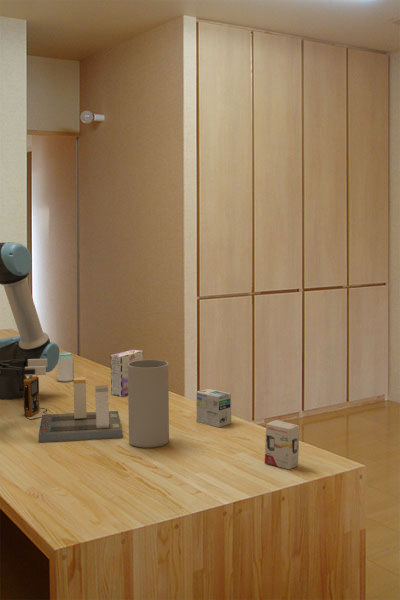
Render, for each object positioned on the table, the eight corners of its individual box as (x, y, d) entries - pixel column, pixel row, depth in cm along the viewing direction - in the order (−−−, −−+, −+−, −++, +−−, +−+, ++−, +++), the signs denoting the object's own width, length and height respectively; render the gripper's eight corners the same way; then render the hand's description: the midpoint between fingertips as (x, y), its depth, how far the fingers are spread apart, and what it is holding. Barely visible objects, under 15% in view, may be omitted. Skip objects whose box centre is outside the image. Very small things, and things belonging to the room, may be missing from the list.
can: (55, 382, 300) (54, 354, 298) (60, 378, 307) (60, 351, 305) (70, 382, 298) (69, 355, 297) (76, 379, 305) (75, 352, 304)
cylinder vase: (138, 451, 210) (137, 369, 207) (123, 439, 221) (121, 362, 218) (175, 444, 215) (175, 365, 213) (159, 433, 226) (158, 358, 224)
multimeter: (46, 420, 242) (44, 364, 240) (19, 419, 244) (17, 363, 242) (62, 409, 256) (61, 356, 254) (37, 408, 258) (35, 355, 256)
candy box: (133, 388, 289) (132, 348, 287) (144, 390, 285) (143, 350, 283) (110, 394, 277) (109, 354, 276) (121, 397, 274) (120, 355, 272)
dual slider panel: (42, 421, 241) (41, 377, 239) (118, 417, 245) (117, 374, 243) (38, 442, 218) (37, 393, 216) (122, 437, 223) (121, 389, 221)
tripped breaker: (74, 415, 238) (73, 377, 237) (86, 414, 239) (85, 377, 237) (74, 418, 234) (73, 380, 233) (86, 418, 235) (85, 379, 234)
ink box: (263, 463, 199) (264, 423, 197) (273, 459, 202) (274, 419, 201) (289, 470, 193) (290, 429, 192) (299, 465, 197) (300, 425, 195)
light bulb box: (232, 423, 238) (232, 392, 236) (218, 428, 233) (218, 396, 232) (208, 417, 245) (208, 387, 244) (195, 421, 240) (195, 391, 239)
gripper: (-26, 364, 216) (44, 362, 220) (-15, 350, 241) (47, 349, 245) (-25, 388, 217) (45, 385, 221) (-15, 372, 242) (48, 370, 245)
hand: (46, 366), depth 233 cm, fingers open, 13 cm apart
